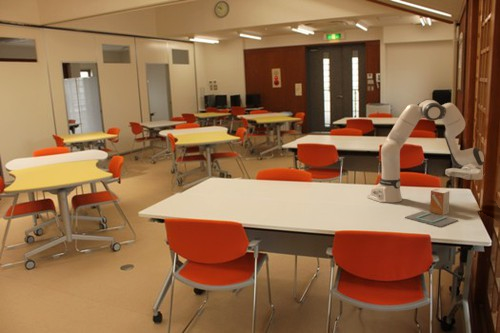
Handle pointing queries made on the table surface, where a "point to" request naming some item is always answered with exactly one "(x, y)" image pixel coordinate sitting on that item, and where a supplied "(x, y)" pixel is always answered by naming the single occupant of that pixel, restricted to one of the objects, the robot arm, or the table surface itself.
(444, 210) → the small box
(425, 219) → the plate
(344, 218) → the table surface
